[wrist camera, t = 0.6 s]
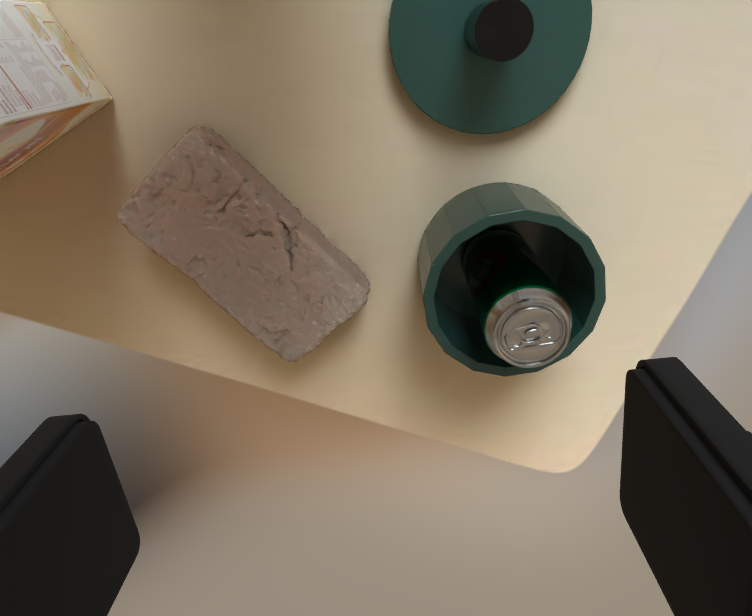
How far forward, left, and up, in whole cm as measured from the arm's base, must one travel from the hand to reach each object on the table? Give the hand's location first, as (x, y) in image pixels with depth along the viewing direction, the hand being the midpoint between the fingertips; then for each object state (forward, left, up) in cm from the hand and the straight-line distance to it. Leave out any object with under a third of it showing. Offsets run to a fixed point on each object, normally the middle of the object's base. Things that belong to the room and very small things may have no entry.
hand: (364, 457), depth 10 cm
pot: (+10, +7, -33) cm, 35 cm away
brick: (+5, -10, -33) cm, 35 cm away
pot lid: (-6, +8, -33) cm, 34 cm away
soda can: (+10, +7, -33) cm, 35 cm away
